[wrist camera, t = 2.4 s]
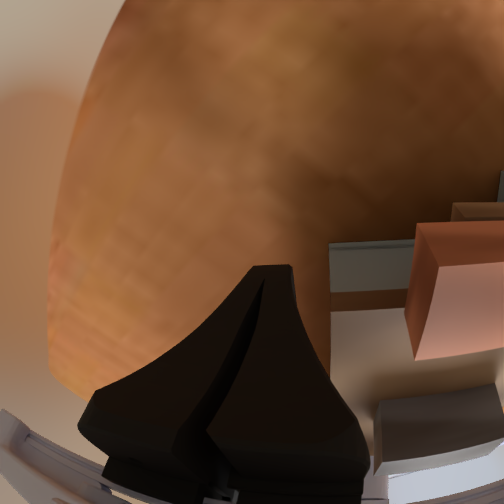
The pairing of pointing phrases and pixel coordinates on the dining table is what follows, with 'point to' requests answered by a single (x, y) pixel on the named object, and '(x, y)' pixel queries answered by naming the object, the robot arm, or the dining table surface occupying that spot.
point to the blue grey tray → (375, 262)
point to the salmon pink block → (456, 289)
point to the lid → (414, 380)
